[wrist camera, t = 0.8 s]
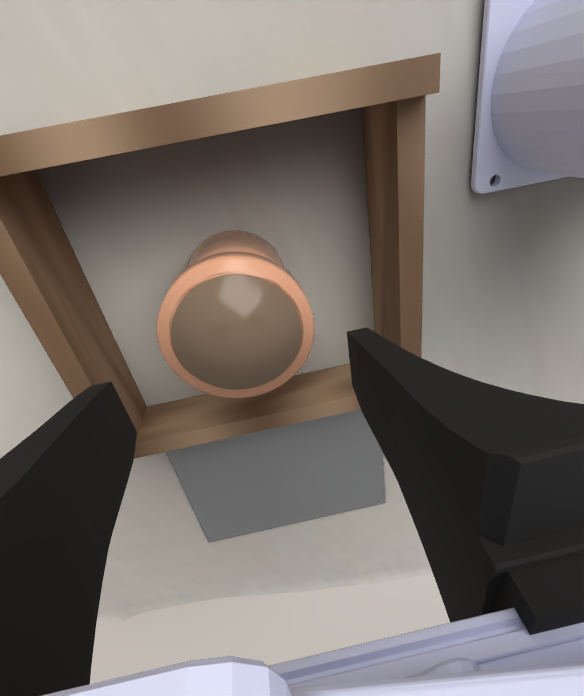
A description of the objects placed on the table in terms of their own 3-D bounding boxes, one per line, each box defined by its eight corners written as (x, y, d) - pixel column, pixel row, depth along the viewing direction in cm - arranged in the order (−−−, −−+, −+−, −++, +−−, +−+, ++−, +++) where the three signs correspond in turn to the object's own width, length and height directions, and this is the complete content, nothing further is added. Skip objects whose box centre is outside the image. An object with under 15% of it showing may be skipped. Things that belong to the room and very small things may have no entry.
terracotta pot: (282, 211, 18) (302, 245, 13) (301, 319, 21) (323, 382, 16) (161, 235, 18) (131, 279, 13) (197, 340, 21) (184, 412, 16)
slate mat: (379, 402, 25) (380, 404, 25) (384, 500, 30) (385, 502, 30) (166, 448, 24) (165, 451, 24) (209, 540, 29) (208, 542, 29)
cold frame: (384, 73, 16) (440, 53, 11) (392, 368, 23) (428, 422, 19) (-3, 146, 15) (-96, 153, 11) (136, 423, 23) (113, 491, 19)
